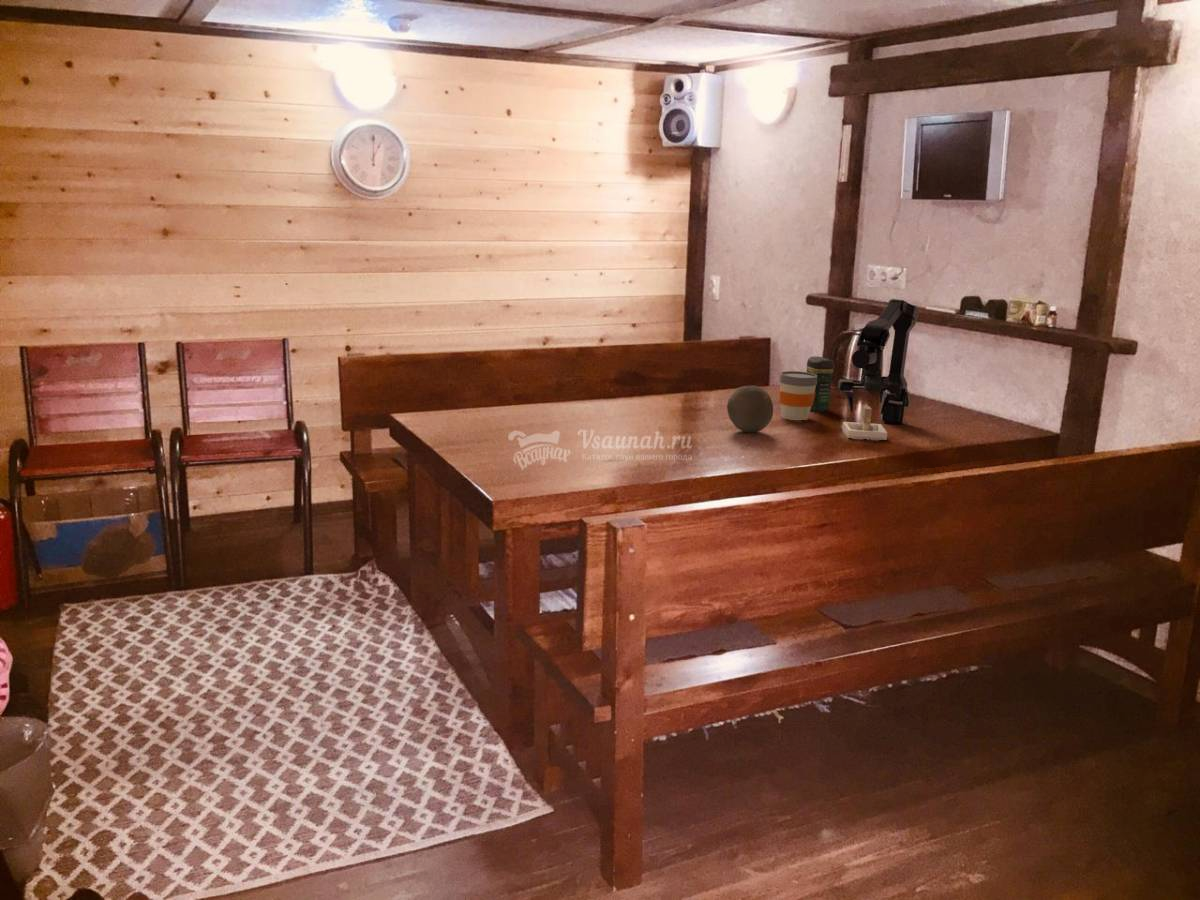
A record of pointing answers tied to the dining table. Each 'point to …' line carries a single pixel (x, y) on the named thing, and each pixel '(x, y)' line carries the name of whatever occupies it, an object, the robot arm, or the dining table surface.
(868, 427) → the tan cuboid brick
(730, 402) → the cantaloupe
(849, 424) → the dish
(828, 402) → the coffee jar
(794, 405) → the reusable coffee cup
